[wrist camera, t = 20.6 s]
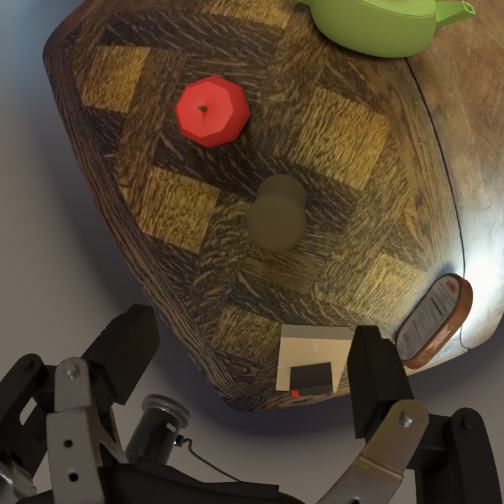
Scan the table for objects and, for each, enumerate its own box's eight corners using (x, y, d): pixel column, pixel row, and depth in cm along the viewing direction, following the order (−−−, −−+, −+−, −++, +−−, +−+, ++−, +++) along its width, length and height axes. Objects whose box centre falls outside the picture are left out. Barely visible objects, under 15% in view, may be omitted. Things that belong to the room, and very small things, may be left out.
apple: (216, 160, 31) (192, 167, 24) (177, 112, 30) (144, 107, 22) (270, 119, 29) (262, 112, 21) (228, 70, 27) (207, 51, 19)
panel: (335, 379, 43) (336, 393, 40) (276, 377, 44) (274, 390, 41) (350, 326, 38) (353, 340, 35) (281, 323, 39) (280, 337, 36)
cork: (249, 214, 33) (229, 249, 23) (264, 167, 31) (249, 181, 21) (297, 230, 33) (297, 272, 23) (314, 183, 31) (323, 206, 21)
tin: (399, 344, 38) (412, 382, 30) (385, 338, 38) (398, 377, 30) (456, 269, 32) (484, 299, 24) (444, 260, 32) (472, 290, 24)
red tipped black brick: (330, 361, 37) (332, 385, 33) (331, 369, 38) (333, 393, 33) (290, 367, 38) (289, 391, 34) (292, 374, 39) (291, 398, 35)
